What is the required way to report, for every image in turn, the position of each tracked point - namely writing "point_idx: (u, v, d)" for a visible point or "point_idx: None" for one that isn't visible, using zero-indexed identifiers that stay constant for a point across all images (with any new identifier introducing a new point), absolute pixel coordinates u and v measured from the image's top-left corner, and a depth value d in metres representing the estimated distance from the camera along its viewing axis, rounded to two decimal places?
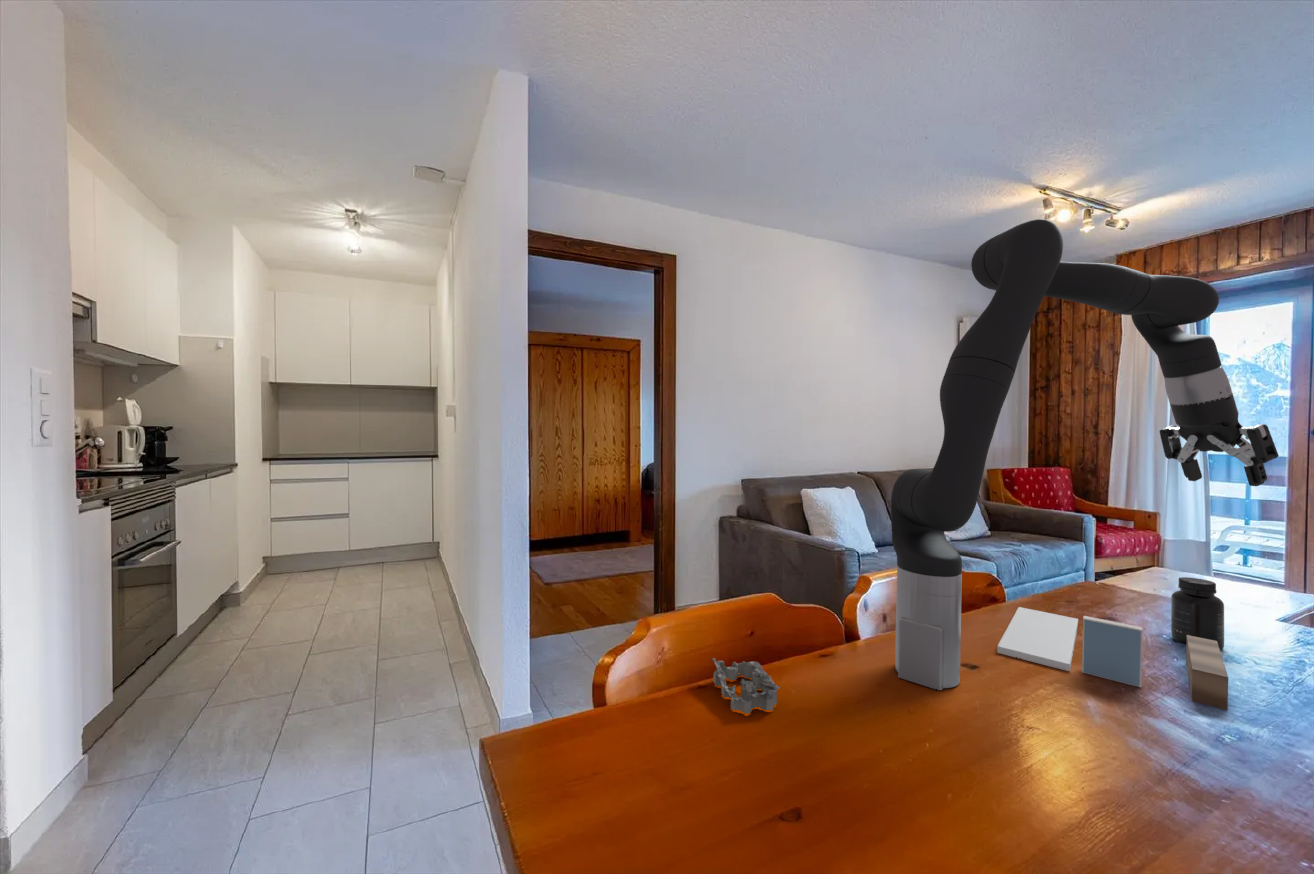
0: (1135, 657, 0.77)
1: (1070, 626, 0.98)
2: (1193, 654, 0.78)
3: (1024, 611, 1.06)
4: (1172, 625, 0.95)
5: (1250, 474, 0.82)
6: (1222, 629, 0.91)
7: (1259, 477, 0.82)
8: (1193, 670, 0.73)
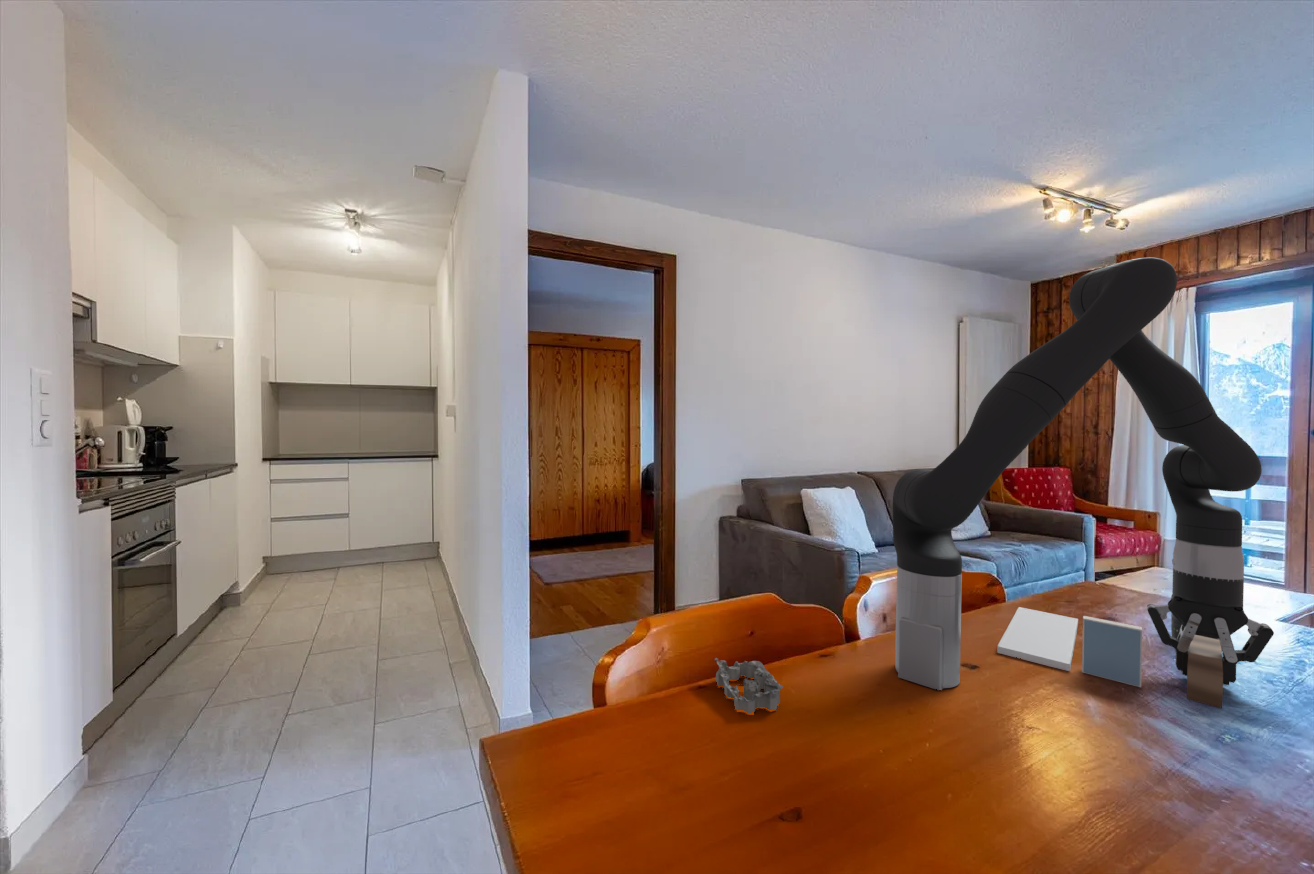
0: (1135, 657, 0.77)
1: (1070, 626, 0.98)
2: (1192, 652, 0.78)
3: (1024, 611, 1.06)
4: (1172, 625, 0.95)
5: (1228, 671, 0.76)
6: None
7: (1235, 676, 0.76)
8: (1188, 667, 0.74)
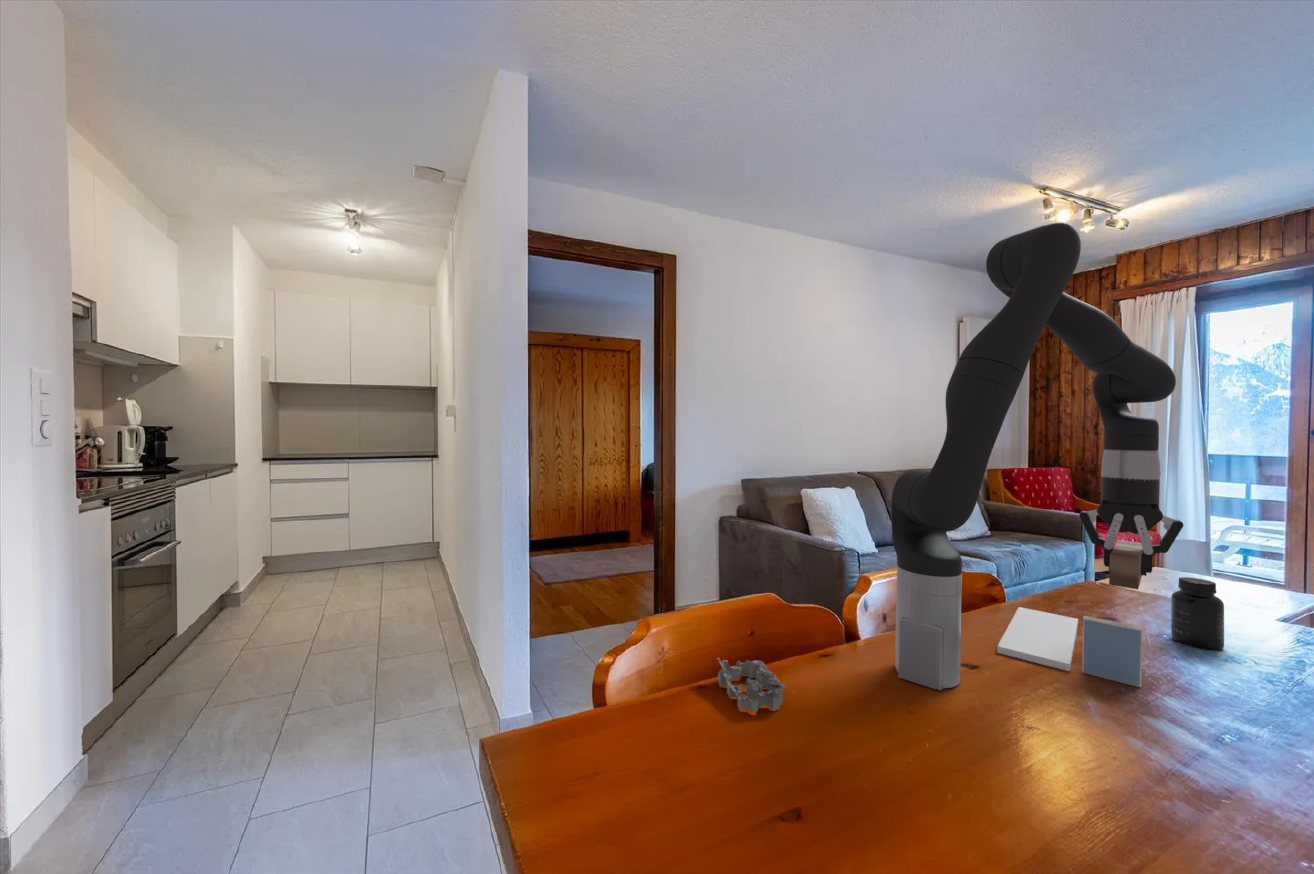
0: (1135, 657, 0.77)
1: (1070, 626, 0.98)
2: (1117, 548, 0.88)
3: (1024, 611, 1.06)
4: (1172, 625, 0.95)
5: (1145, 563, 0.86)
6: (1222, 629, 0.91)
7: (1151, 567, 0.85)
8: (1110, 556, 0.83)
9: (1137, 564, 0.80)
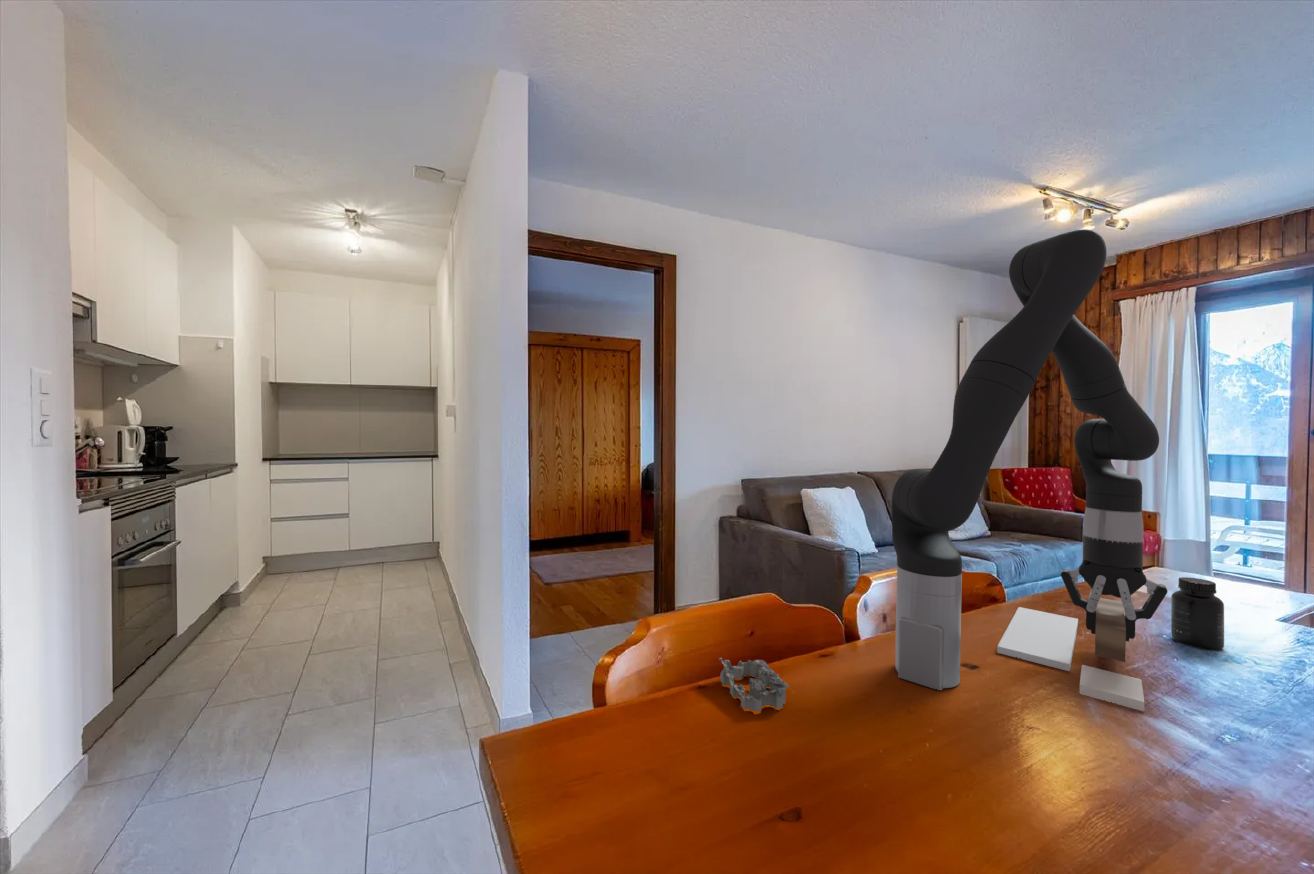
0: None
1: (1070, 626, 0.98)
2: (1099, 612, 0.84)
3: (1024, 611, 1.06)
4: (1172, 625, 0.95)
5: (1128, 628, 0.82)
6: (1222, 629, 0.91)
7: (1134, 633, 0.82)
8: (1096, 625, 0.78)
9: (1124, 635, 0.76)
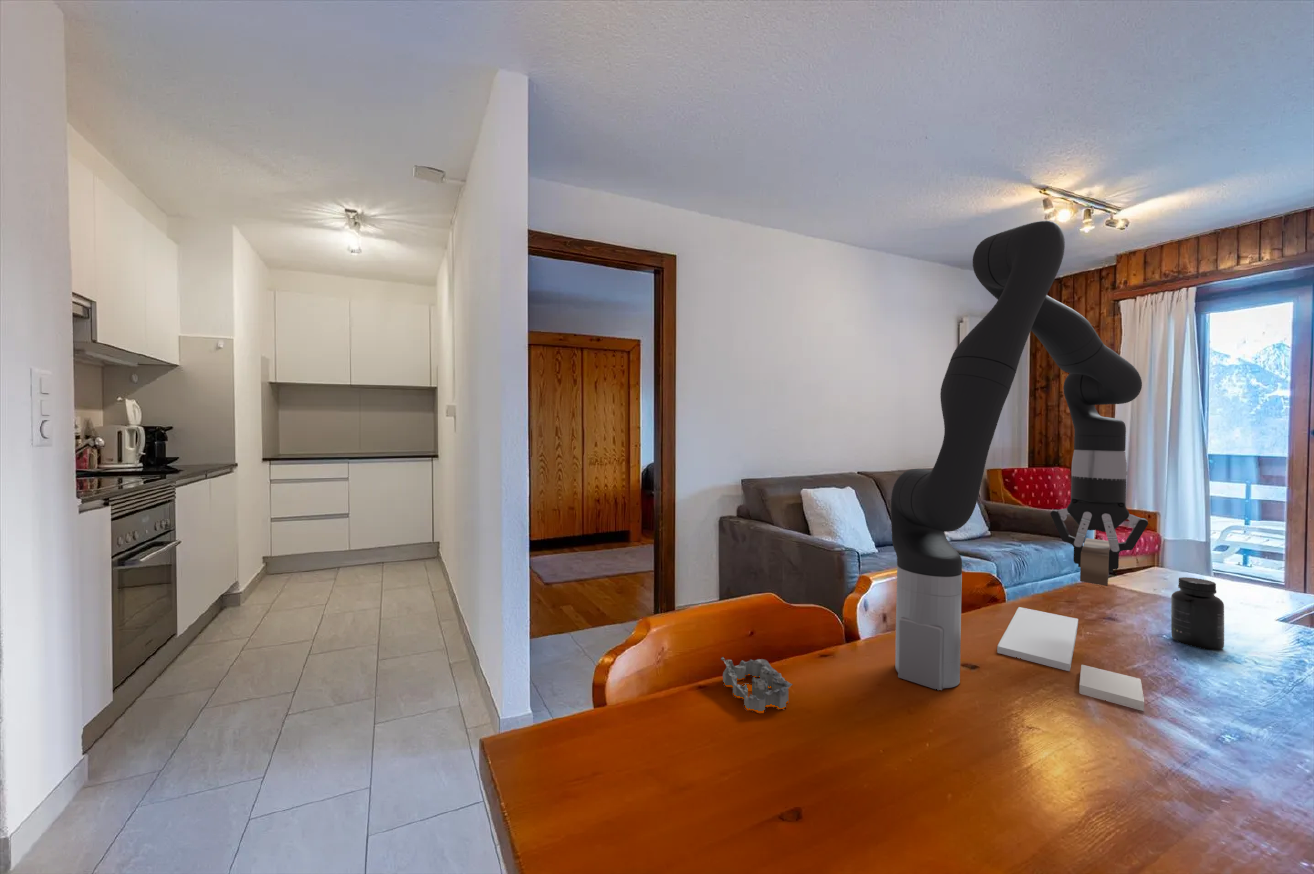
0: None
1: (1070, 626, 0.98)
2: (1086, 546, 0.90)
3: (1024, 611, 1.06)
4: (1172, 625, 0.95)
5: (1112, 560, 0.88)
6: (1222, 629, 0.91)
7: (1117, 564, 0.88)
8: (1081, 553, 0.85)
9: (1106, 561, 0.83)
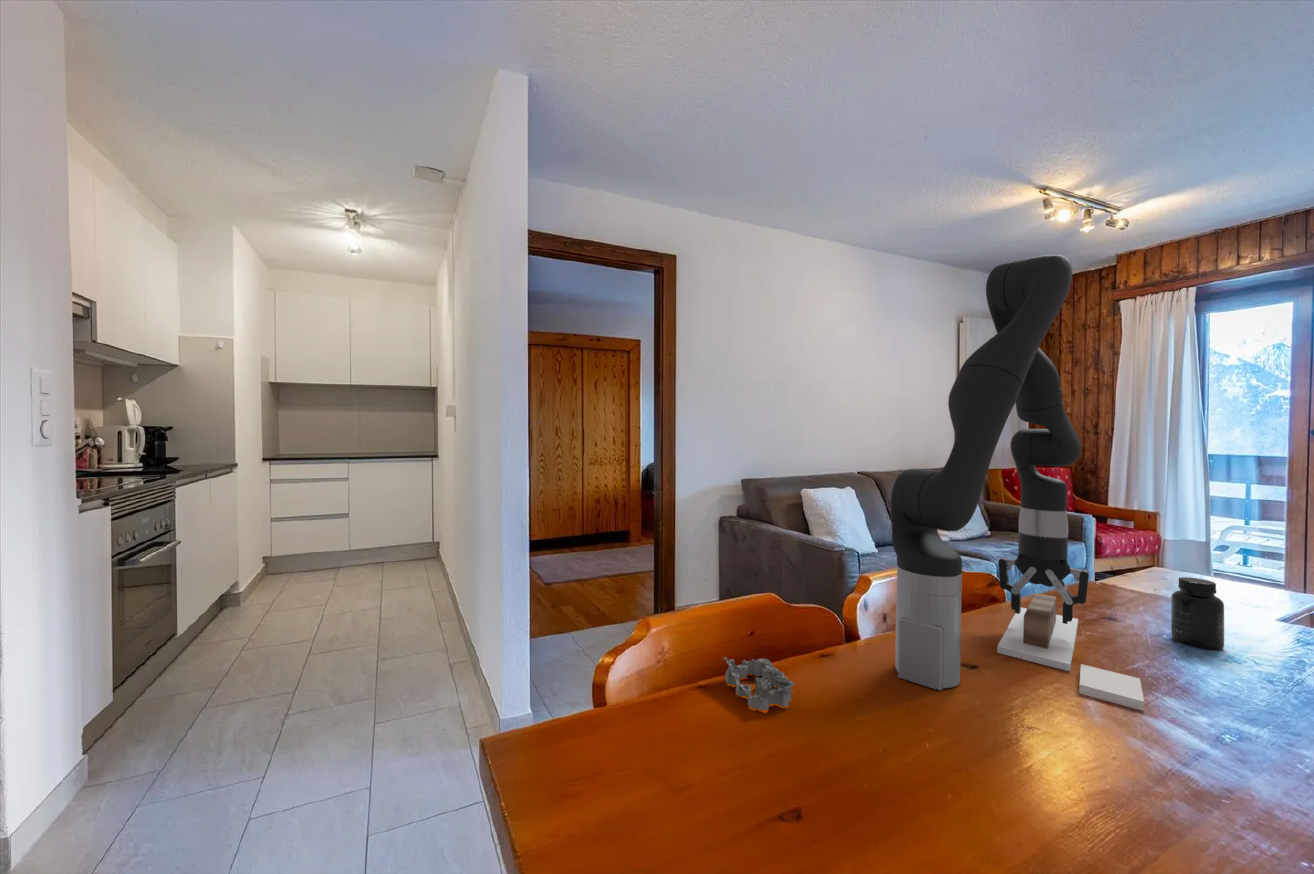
0: None
1: (1070, 626, 0.98)
2: (1031, 606, 0.95)
3: (1024, 611, 1.06)
4: (1172, 625, 0.95)
5: (1066, 612, 0.92)
6: (1222, 629, 0.91)
7: (1071, 616, 0.92)
8: (1024, 617, 0.90)
9: (1047, 625, 0.88)
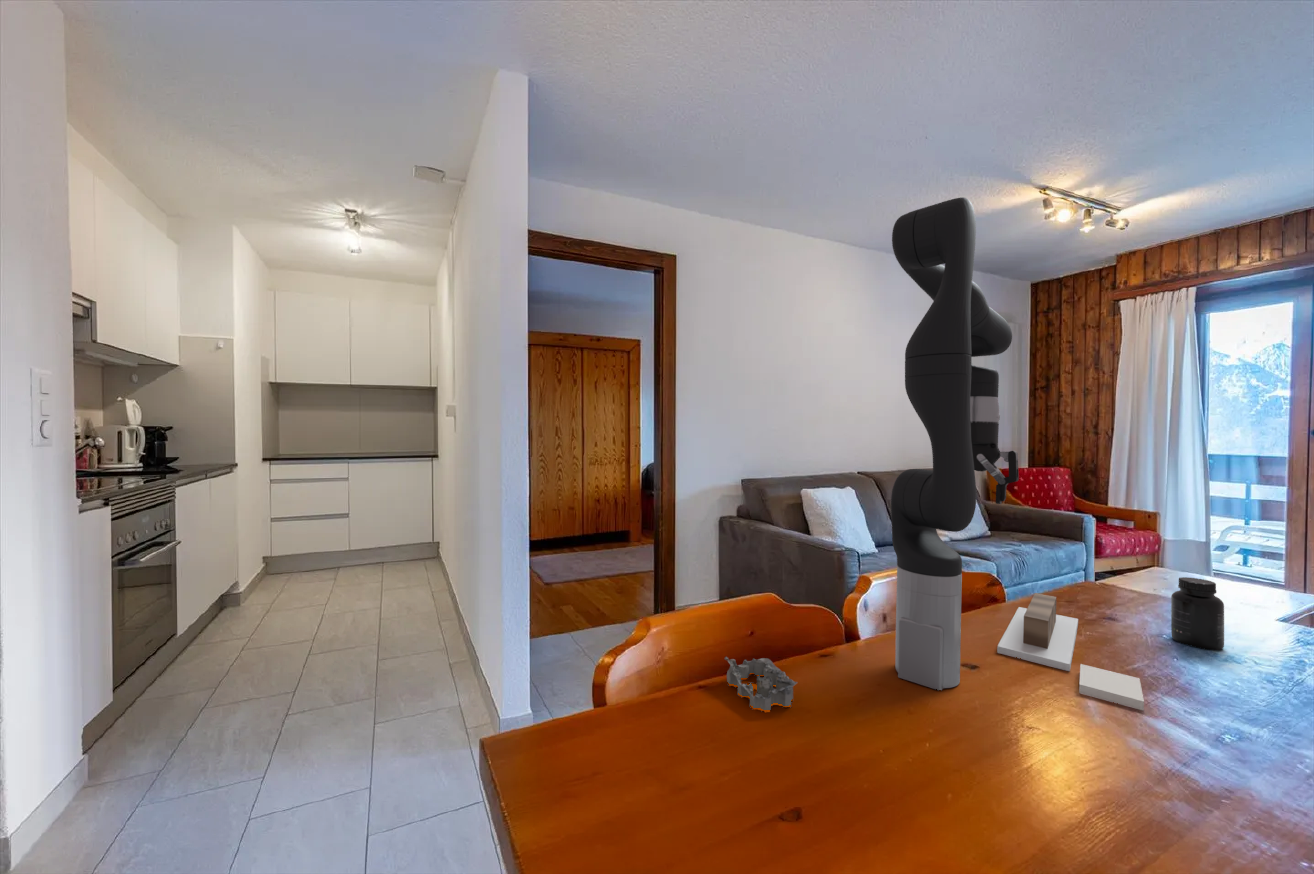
0: None
1: (1070, 626, 0.98)
2: (1031, 606, 0.95)
3: (1024, 611, 1.06)
4: (1172, 625, 0.95)
5: (999, 492, 0.95)
6: (1222, 629, 0.91)
7: (1004, 496, 0.95)
8: (1024, 617, 0.90)
9: (1047, 625, 0.88)
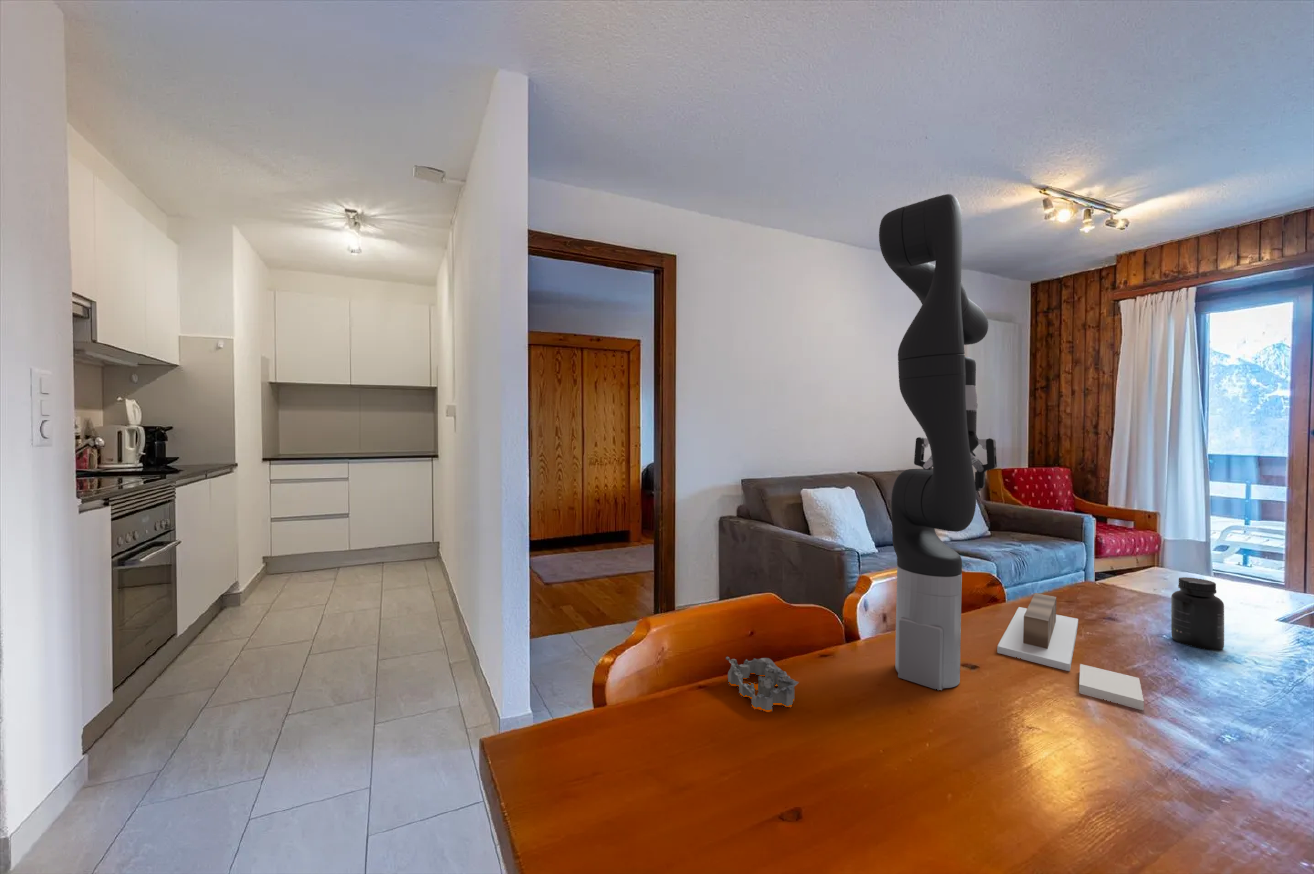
0: None
1: (1070, 626, 0.98)
2: (1031, 606, 0.95)
3: (1024, 611, 1.06)
4: (1172, 625, 0.95)
5: (978, 479, 0.97)
6: (1222, 629, 0.91)
7: (983, 483, 0.96)
8: (1024, 617, 0.90)
9: (1047, 625, 0.88)
